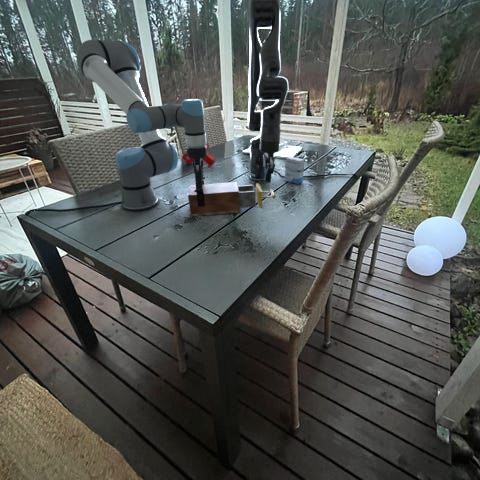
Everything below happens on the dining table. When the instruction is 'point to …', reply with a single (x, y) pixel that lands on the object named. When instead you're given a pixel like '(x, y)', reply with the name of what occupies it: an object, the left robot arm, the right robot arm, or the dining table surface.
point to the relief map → (283, 150)
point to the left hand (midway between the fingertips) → (201, 200)
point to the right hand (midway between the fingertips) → (267, 181)
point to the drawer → (252, 195)
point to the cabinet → (215, 199)
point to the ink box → (294, 170)
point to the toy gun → (208, 159)
